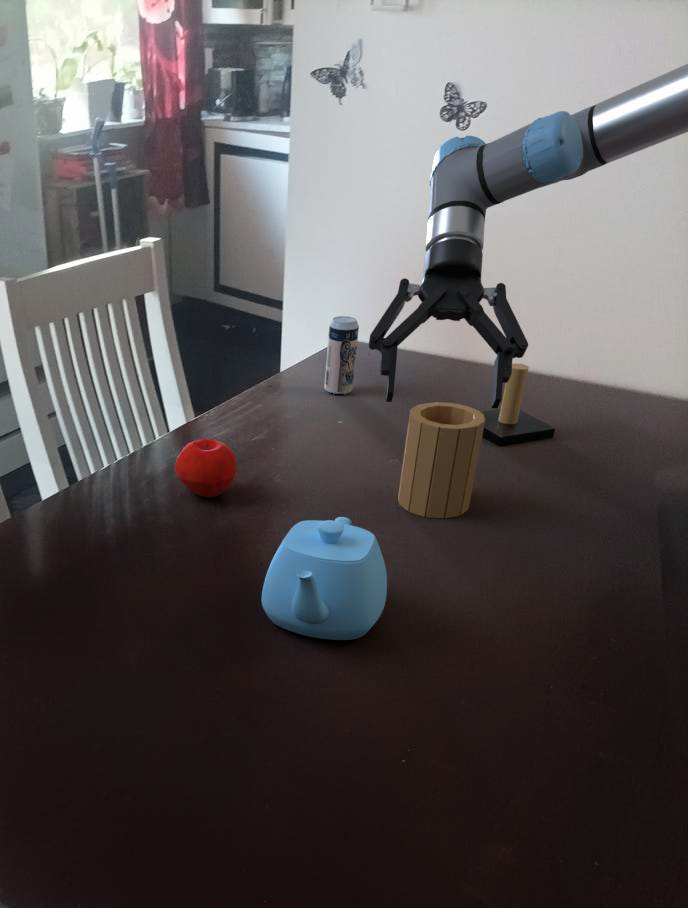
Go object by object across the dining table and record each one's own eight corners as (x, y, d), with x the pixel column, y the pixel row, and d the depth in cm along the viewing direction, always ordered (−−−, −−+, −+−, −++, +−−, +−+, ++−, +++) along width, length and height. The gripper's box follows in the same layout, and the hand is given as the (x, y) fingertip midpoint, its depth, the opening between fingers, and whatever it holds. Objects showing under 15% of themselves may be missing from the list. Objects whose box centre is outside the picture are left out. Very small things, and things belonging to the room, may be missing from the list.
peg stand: (553, 437, 138) (568, 372, 132) (498, 446, 134) (512, 380, 129) (512, 415, 145) (525, 353, 139) (460, 423, 142) (470, 360, 136)
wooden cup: (481, 511, 116) (499, 422, 110) (422, 523, 114) (436, 432, 107) (442, 484, 123) (457, 398, 116) (385, 494, 120) (396, 407, 114)
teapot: (237, 559, 84) (292, 484, 98) (235, 653, 90) (287, 569, 104) (371, 585, 80) (408, 502, 94) (359, 681, 86) (395, 590, 100)
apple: (168, 502, 118) (167, 449, 114) (185, 478, 124) (185, 427, 120) (227, 510, 116) (228, 456, 112) (242, 485, 122) (243, 433, 118)
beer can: (345, 397, 151) (352, 324, 145) (319, 392, 153) (325, 320, 146) (356, 389, 155) (363, 318, 148) (330, 384, 157) (337, 314, 150)
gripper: (542, 273, 123) (534, 419, 119) (358, 265, 126) (344, 407, 122) (557, 239, 115) (549, 393, 112) (361, 231, 118) (347, 381, 115)
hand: (442, 400), depth 117 cm, fingers open, 13 cm apart
